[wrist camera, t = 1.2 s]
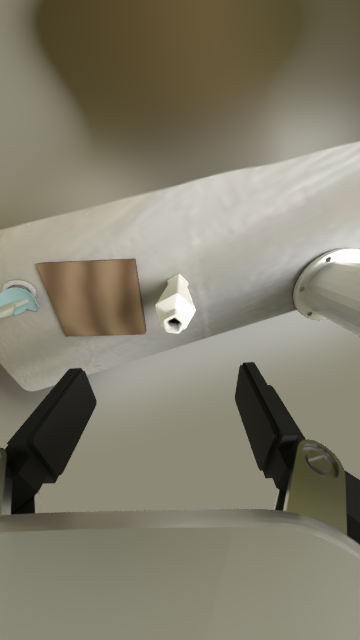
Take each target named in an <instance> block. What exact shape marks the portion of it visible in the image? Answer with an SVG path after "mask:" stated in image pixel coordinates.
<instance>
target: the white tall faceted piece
mask: <svg viewBox="0 0 360 640" xmlns="http://www.w3.org/2000/svg"><path fill="white" fill-rule="evenodd" d="M167 283H168V286H167V287H166V289H165V290H164V292H163V294H162V295H161V297H160V298H159V300H158V302H157V303H156V305H155V307H156V311H157V315H158V318H159V322H160V325H161V327H164V328H165V330H166V332H168V333H176V334H179V333H180V332H181V331H182V330H185V329H186V328H187V326H188V324H189V322H190V321H191V319H192V317H193V315H194V313H195V312H196V309H195V306H194V304H193V301H192V298H191V296H190V293H189V291H188V288H187V287H188V285H189V283H188V282H187V281H186V280H185V279H184V278H183V277H182V276H181V275H180V274H177V275H176V276H174V277H172V278H170V279H168V280H167Z"/></svg>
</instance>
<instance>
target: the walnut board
mask: <svg viewBox="0 0 360 640" xmlns="http://www.w3.org/2000/svg"><path fill="white" fill-rule="evenodd" d="M36 266H37V268H38V270H39V273H40V275H41V278H42V280H43V283H44V285H45V287H46V290H47V292H48V295H49V297H50V299H51V302H52V304H53V307H54V309H55V311H56V314H57V316H58V319H59V321H60V323H61V326H62V328H63V331H64V333H65V336H66V337H67V336H102V335H136V334H145V333H146V325H145V319H144V312H143V306H142V299H141V293H140V286H139V279H138V273H137V266H136V260H135V259H114V260H91V261H67V262H43V263H37V264H36Z"/></svg>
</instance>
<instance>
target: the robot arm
mask: <svg viewBox="0 0 360 640" xmlns="http://www.w3.org/2000/svg"><path fill="white" fill-rule="evenodd" d="M293 300H294V304H295V307H296V308H297V310H298V311H299V312H300V313H301V314H302V315H304V316H306V317H307V318H310V319H313V320H328V319H329V320H331V321H333V322H334V323H336V324H338V325H340V326H342V327H343V328H345V329H347V330H349V331H351V332H352V333H354V334H356V335H358V336H359V337H360V249H355V248H340V249H336V250H332V251H330V252H327V253H325V254H323V255H321V256H320V257H318V258H317V259H315V260H314V261H313V262H312V263H310V264H309V265H308V266H307V267H306V268H305V269H304V271H303V272H302V274H301V275H300V276H299V278H298V280H297V282H296V285H295V288H294V293H293ZM235 401H236V404H237V407H238V410H239V413H240V416H241V419H242V422H243V425H244V427H245V430H246V433H247V436H248V439H249V442H250V445H251V448H252V451H253V454H254V457H255V459H256V462H257V465H258V468H259V469H260V470H263V472H264V475H265V478H273V480H274V483H275V485H276V487H277V488H278V492H277V496H276V500H275V505H274V509H273V510H265V509H203V510H202V509H200V510H147V511H146V510H144V511H100V512H99V511H98V512H61V513H41V512H40V494H39V490H40V488H41V486H42V484H43V483H55V482H56V480H57V478H58V476H59V475H61V474H62V473H63V471H64V469H65V467H66V465H67V463H68V461H69V459H70V457H71V455H72V453H73V451H74V449H75V447H76V445H77V443H78V441H79V439H80V437H81V435H82V433H83V431H84V429H85V427H86V425H87V423H88V421H89V419H90V417H91V415H92V413H93V410H94V409H95V406H96V398H95V396H94V393H93V391H92V388H91V386H90V383H89V381H88V378H87V376H86V373H85V371H83V370H82V369H81V368H74V369H69V370H68V371H67V372H66V373H65V375H64V376H63V377H62V378H61V379H60V381H59V382H58V383H57V384H56V385H55V387H54V388H53V389H52V390H51V391H50V393H49V394H48V395H47V396H46V398H45V399H44V400H43V401H42V402H41V403H40V405H39V406H38V407H37V408H36V409H35V411H34V412H33V413H32V414H31V415H30V417H29V418H28V419H27V420H26V421H25V423H24V424H23V425H22V426H21V427H20V429H19V430H18V431H17V432H16V433H15V435H14V436H13V437H12V438H11V439H10V441H9V442H8V443H7V444H8V446H7V447H6V449H4V448H0V640H360V480H359V479H357V478H356V477H354V476H353V475H351V474H349V473H348V472H346V471H345V470H344V468H343V466H342V464H341V462H340V460H339V459H338V458H337V456H336V455H335V454H334V453H333V452H332V451H331V450H330V449H329V448H327V447H326V446H324V445H323V444H321V443H319V442H317V441H315V440H310V439H307V440H306V439H305V437H304V436H303V434H302V433H301V431H300V429H299V428H298V426H297V425H296V423H295V421H294V420H293V418H292V417H291V415H290V414H289V412H288V410H287V409H286V407H285V406H284V404H283V402H282V401H281V399H280V397H279V396H278V394H277V393H276V391H275V390H274V388H273V387H272V386H271V385H267V383H266V382H265V380H264V378H263V377H262V375H261V373H260V371H259V370H258V368H257V366H256V365H255V363H253V362H251V363H250V362H249V363H243V365H240V368H239V374H238V381H237V387H236V394H235Z"/></svg>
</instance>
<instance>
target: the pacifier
mask: <svg viewBox="0 0 360 640" xmlns="http://www.w3.org/2000/svg"><path fill="white" fill-rule="evenodd" d="M13 285H22V286H25V287H26V288H28V289H29V290H30V292H31V293H30V292H29V291H27V290H26V289H24V288H20V287H14V288H10V287H11V286H13ZM36 295H37V292H36V289H35V288H34V286H33V285H31V284H30V283H28V282H26V281H22V280H11V281H8V282H7V283H5V284H4V285H3V287H2V292H1V293H0V318H5V317H8V316H10V315H16V314H21V313H23V312H24V311H25V310H26V309H29V310H32V311H38V310H39V305H38V303H37V301H36V299H35V297H36ZM34 303H35V305H36V306H35V305H34Z"/></svg>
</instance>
